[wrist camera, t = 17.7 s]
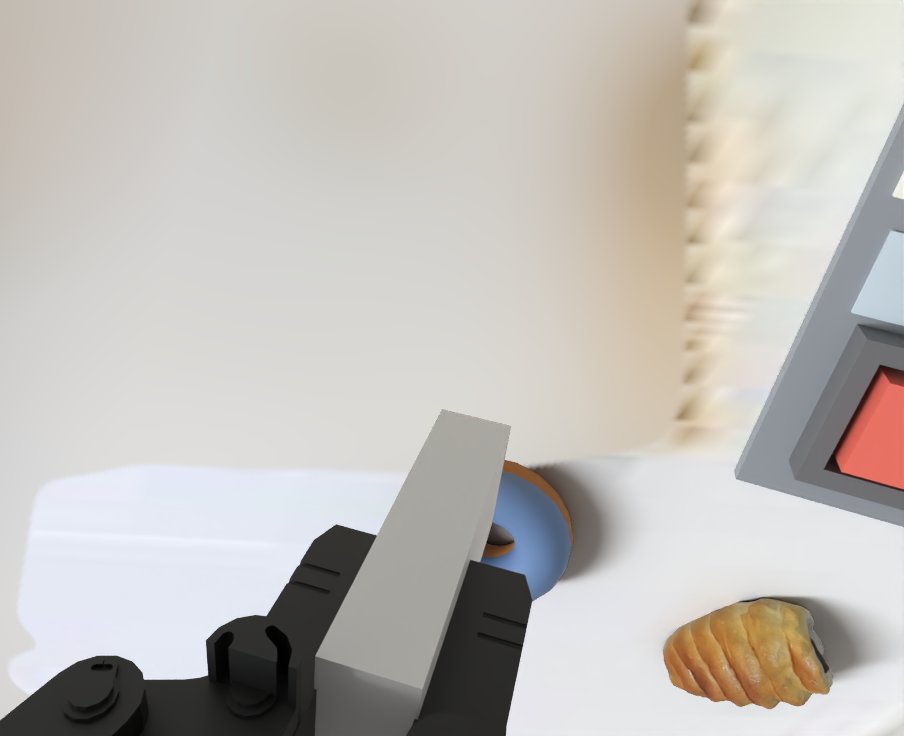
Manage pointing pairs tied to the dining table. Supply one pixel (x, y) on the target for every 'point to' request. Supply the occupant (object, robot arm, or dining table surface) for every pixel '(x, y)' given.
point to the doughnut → (531, 529)
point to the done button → (876, 432)
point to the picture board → (840, 357)
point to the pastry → (750, 655)
